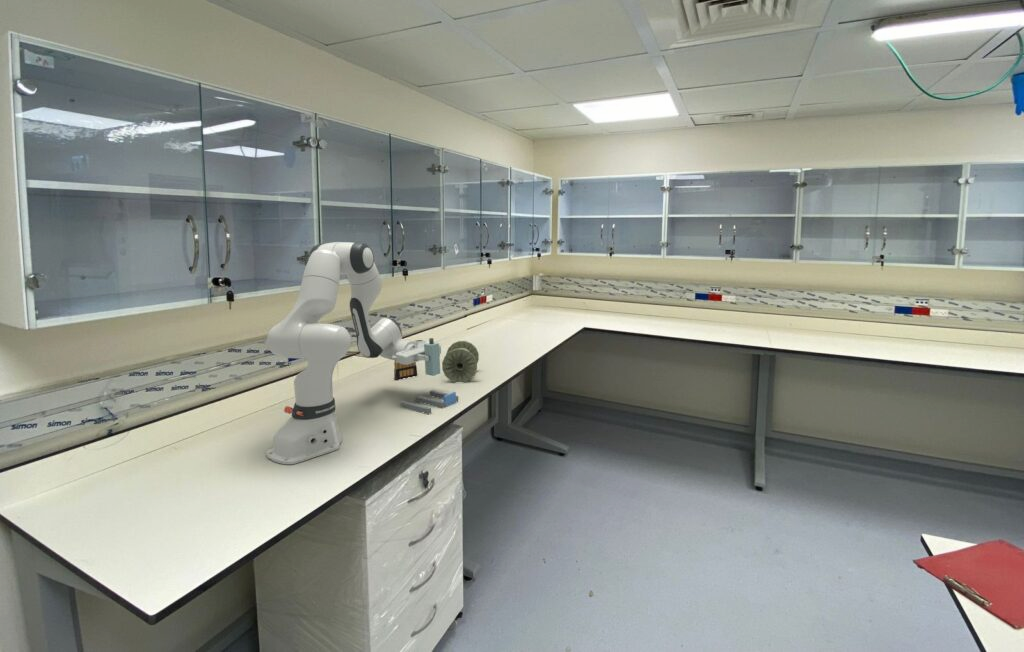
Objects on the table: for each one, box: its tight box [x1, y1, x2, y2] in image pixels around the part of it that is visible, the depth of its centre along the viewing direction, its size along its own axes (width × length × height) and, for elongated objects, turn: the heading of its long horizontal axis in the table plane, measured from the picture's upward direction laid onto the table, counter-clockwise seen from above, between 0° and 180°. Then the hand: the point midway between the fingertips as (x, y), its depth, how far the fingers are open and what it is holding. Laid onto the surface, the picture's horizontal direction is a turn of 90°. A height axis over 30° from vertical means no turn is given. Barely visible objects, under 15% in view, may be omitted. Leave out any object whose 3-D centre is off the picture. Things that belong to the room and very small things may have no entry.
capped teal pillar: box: [424, 337, 441, 377], centre depth 197 cm, size 4×4×14 cm
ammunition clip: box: [393, 360, 418, 381], centre depth 232 cm, size 11×2×12 cm, turn 129°
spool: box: [441, 340, 480, 383], centre depth 232 cm, size 16×15×15 cm
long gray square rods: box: [400, 389, 459, 415], centre depth 198 cm, size 17×14×4 cm
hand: (433, 356), depth 197 cm, fingers closed on capped teal pillar, 4 cm apart
